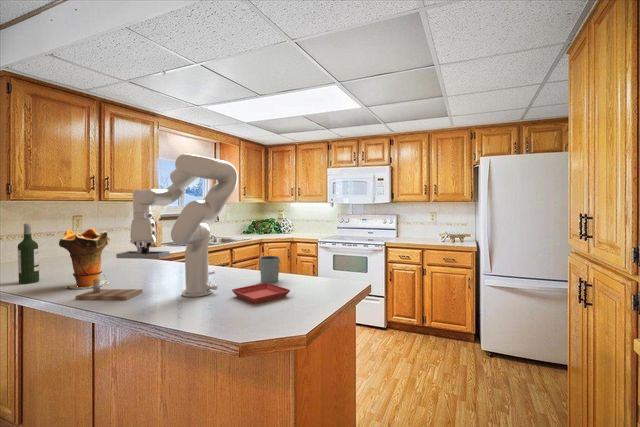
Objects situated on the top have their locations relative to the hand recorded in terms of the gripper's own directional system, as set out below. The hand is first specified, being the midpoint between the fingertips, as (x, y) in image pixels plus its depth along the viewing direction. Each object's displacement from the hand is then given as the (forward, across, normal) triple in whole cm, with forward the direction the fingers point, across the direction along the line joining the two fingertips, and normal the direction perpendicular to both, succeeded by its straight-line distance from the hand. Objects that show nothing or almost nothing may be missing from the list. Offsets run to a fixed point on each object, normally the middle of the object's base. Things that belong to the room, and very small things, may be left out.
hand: (143, 256), depth 154 cm
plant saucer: (+15, -57, +9) cm, 60 cm away
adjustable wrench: (+16, -14, -26) cm, 34 cm away
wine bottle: (+16, +68, -10) cm, 71 cm away
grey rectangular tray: (0, 0, 0) cm, 0 cm away
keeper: (+15, +8, +12) cm, 21 cm away
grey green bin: (+15, -54, -19) cm, 60 cm away
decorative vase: (+16, +33, -6) cm, 37 cm away
